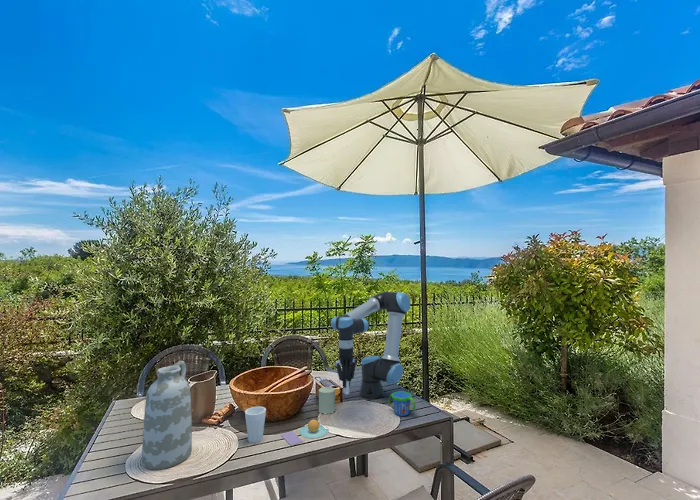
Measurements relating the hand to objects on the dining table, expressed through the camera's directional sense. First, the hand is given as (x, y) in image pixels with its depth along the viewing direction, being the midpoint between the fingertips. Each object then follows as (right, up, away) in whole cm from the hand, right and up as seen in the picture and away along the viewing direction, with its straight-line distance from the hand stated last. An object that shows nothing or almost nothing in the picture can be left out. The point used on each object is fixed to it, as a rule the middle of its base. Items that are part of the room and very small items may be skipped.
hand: (346, 393), depth 176 cm
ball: (-16, -11, -12) cm, 23 cm away
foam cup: (-42, -14, -18) cm, 48 cm away
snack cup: (+30, -14, +7) cm, 34 cm away
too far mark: (-26, -13, -18) cm, 34 cm away
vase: (-75, -13, -32) cm, 83 cm away
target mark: (-16, -14, -11) cm, 24 cm away
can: (-11, -15, +12) cm, 22 cm away
